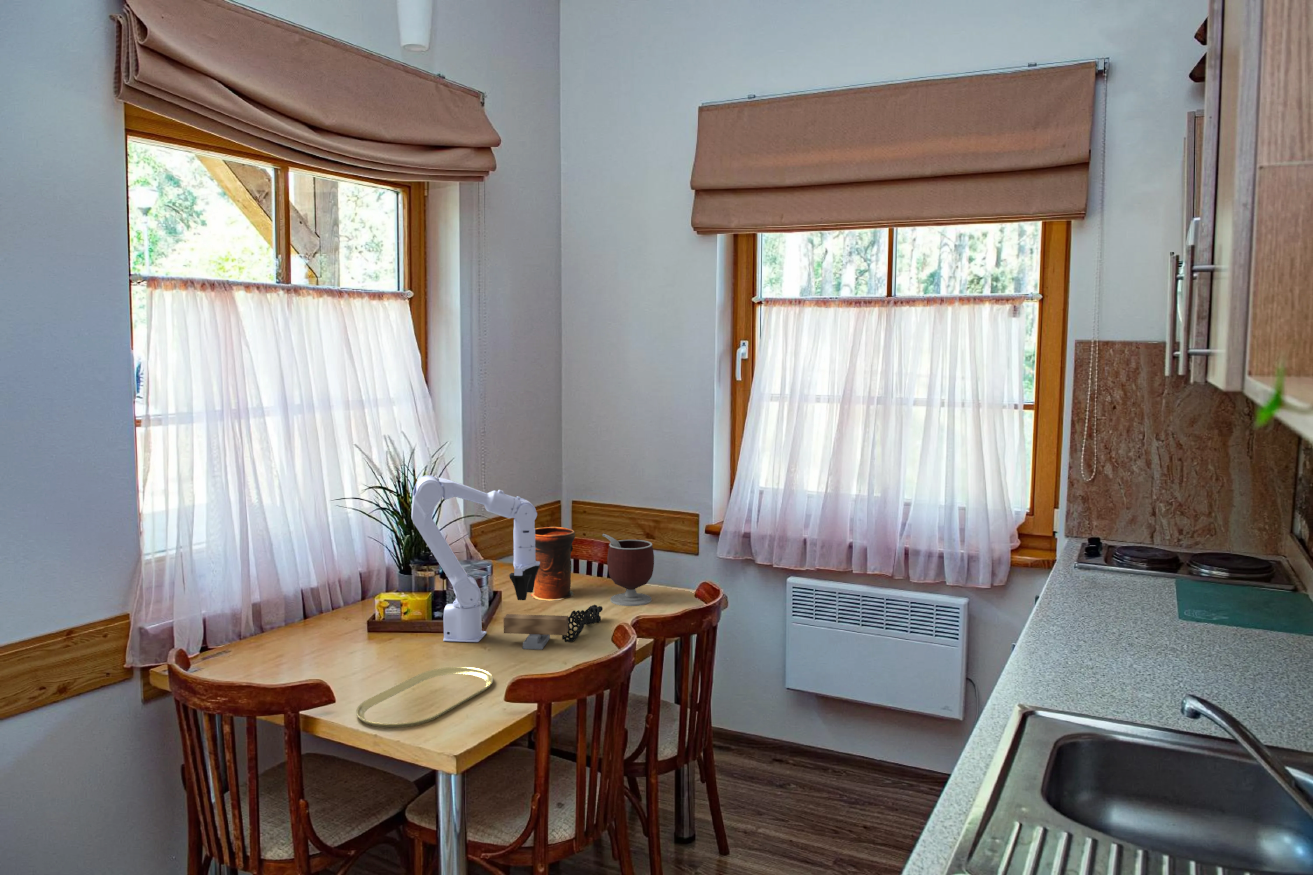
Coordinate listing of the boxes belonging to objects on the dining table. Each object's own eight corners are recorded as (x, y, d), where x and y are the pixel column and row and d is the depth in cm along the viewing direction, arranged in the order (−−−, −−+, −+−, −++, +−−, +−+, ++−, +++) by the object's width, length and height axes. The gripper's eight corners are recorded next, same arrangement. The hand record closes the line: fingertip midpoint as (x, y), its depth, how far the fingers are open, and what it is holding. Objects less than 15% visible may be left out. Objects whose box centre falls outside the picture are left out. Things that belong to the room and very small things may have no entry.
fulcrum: (522, 648, 241) (522, 637, 240) (531, 637, 250) (530, 626, 249) (542, 649, 240) (542, 637, 240) (549, 638, 249) (549, 627, 249)
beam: (503, 633, 244) (503, 617, 243) (507, 629, 247) (507, 614, 247) (565, 635, 242) (565, 619, 242) (568, 630, 245) (568, 615, 245)
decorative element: (577, 644, 245) (577, 622, 244) (558, 642, 246) (558, 620, 246) (605, 619, 267) (605, 599, 266) (588, 618, 268) (588, 597, 267)
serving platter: (336, 721, 196) (336, 714, 196) (443, 668, 228) (443, 662, 227) (408, 737, 188) (408, 729, 188) (509, 680, 220) (509, 673, 219)
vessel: (523, 590, 297) (524, 526, 295) (568, 587, 301) (569, 525, 299) (531, 602, 283) (532, 536, 281) (578, 599, 287) (579, 534, 285)
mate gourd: (657, 594, 291) (657, 530, 289) (650, 607, 278) (650, 539, 276) (607, 593, 293) (607, 529, 291) (598, 605, 280) (597, 538, 278)
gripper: (533, 551, 244) (533, 603, 246) (545, 540, 259) (546, 589, 260) (506, 551, 245) (506, 603, 246) (519, 539, 259) (520, 588, 261)
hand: (525, 595), depth 253 cm, fingers open, 7 cm apart
